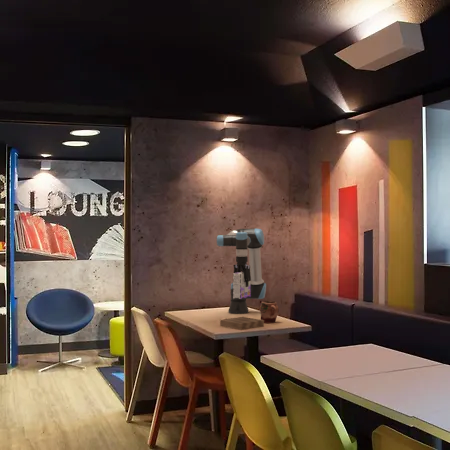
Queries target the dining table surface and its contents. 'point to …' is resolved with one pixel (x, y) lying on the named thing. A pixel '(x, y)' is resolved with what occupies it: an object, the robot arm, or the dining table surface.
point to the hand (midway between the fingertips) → (241, 291)
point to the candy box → (240, 286)
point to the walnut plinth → (242, 323)
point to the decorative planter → (269, 311)
